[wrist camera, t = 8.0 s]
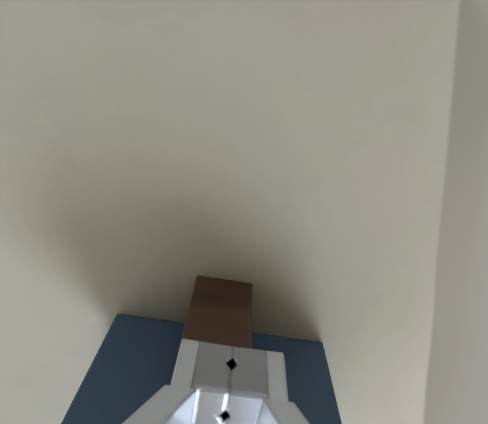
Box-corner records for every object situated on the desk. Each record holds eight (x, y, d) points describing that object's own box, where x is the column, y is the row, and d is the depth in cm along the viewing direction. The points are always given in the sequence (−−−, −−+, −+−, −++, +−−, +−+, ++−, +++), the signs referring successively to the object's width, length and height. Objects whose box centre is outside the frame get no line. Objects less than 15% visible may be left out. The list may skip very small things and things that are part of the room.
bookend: (116, 313, 28) (50, 443, 19) (322, 342, 29) (355, 480, 19) (115, 387, 31) (58, 528, 22) (300, 412, 32) (319, 558, 23)
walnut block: (197, 282, 29) (195, 261, 22) (247, 289, 29) (261, 271, 22) (179, 385, 26) (170, 398, 19) (234, 392, 26) (245, 409, 20)
